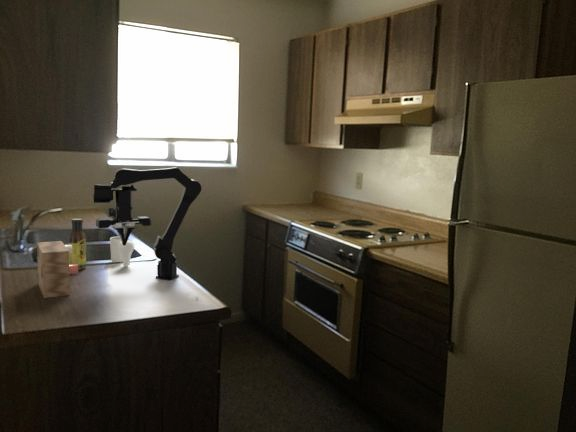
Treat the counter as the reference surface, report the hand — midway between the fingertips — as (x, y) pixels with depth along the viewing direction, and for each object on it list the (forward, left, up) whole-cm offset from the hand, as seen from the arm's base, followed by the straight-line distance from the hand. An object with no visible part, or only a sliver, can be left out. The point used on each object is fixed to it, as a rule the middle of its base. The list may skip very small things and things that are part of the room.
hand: (124, 245), depth 196 cm
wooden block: (+13, +22, -13) cm, 28 cm away
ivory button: (+15, +15, -2) cm, 21 cm away
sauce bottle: (+26, -4, -13) cm, 29 cm away
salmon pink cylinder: (+6, +22, -6) cm, 24 cm away
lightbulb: (+12, -16, -13) cm, 24 cm away
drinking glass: (+21, -22, -13) cm, 33 cm away
